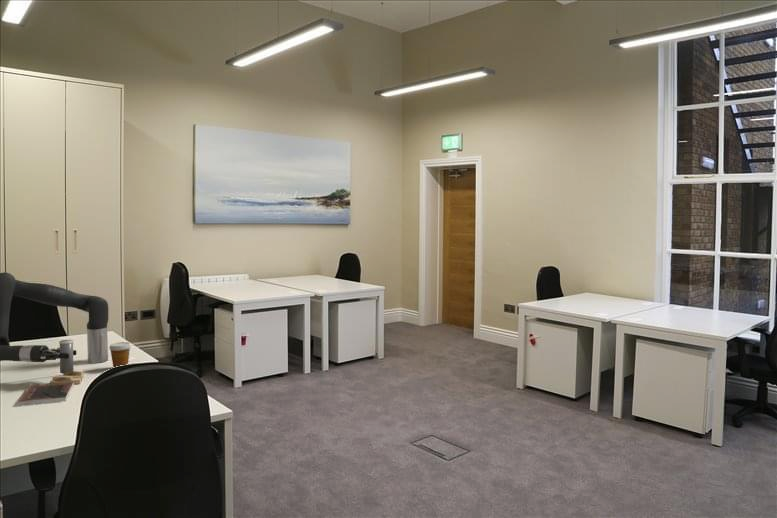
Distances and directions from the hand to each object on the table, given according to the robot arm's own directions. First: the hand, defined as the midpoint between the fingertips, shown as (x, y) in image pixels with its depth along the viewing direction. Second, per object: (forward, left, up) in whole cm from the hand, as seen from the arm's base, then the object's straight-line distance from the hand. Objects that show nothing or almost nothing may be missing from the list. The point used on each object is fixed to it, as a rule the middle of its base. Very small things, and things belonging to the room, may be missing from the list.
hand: (72, 354), depth 248 cm
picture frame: (+17, -7, -13) cm, 23 cm away
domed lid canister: (-1, -3, -8) cm, 8 cm away
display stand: (-1, -2, -13) cm, 13 cm away
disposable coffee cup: (-18, +18, -13) cm, 28 cm away
